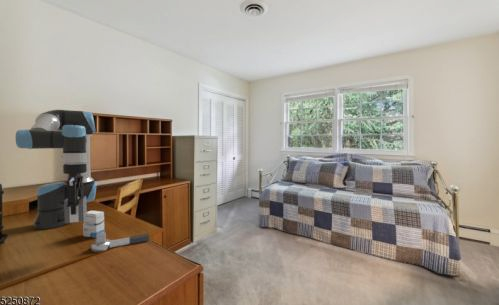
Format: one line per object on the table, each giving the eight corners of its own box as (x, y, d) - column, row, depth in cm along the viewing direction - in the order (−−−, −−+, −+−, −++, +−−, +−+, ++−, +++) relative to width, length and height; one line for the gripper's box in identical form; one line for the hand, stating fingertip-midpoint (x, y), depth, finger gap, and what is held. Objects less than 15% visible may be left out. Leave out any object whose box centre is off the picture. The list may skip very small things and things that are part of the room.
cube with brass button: (69, 218, 92) (68, 196, 92) (86, 216, 95) (86, 195, 95) (64, 223, 87) (64, 200, 87) (83, 221, 90) (83, 198, 89)
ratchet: (90, 253, 93) (90, 238, 92) (93, 246, 99) (92, 232, 99) (149, 242, 103) (148, 228, 103) (148, 236, 109) (148, 223, 109)
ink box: (105, 234, 112) (104, 211, 112) (95, 238, 108) (95, 214, 107) (92, 232, 115) (91, 209, 114) (82, 236, 110) (82, 212, 109)
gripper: (70, 161, 97) (71, 213, 98) (55, 165, 80) (57, 228, 81) (90, 161, 100) (92, 211, 101) (80, 165, 83) (82, 225, 84)
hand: (76, 219), depth 91 cm, fingers closed on cube with brass button, 6 cm apart
